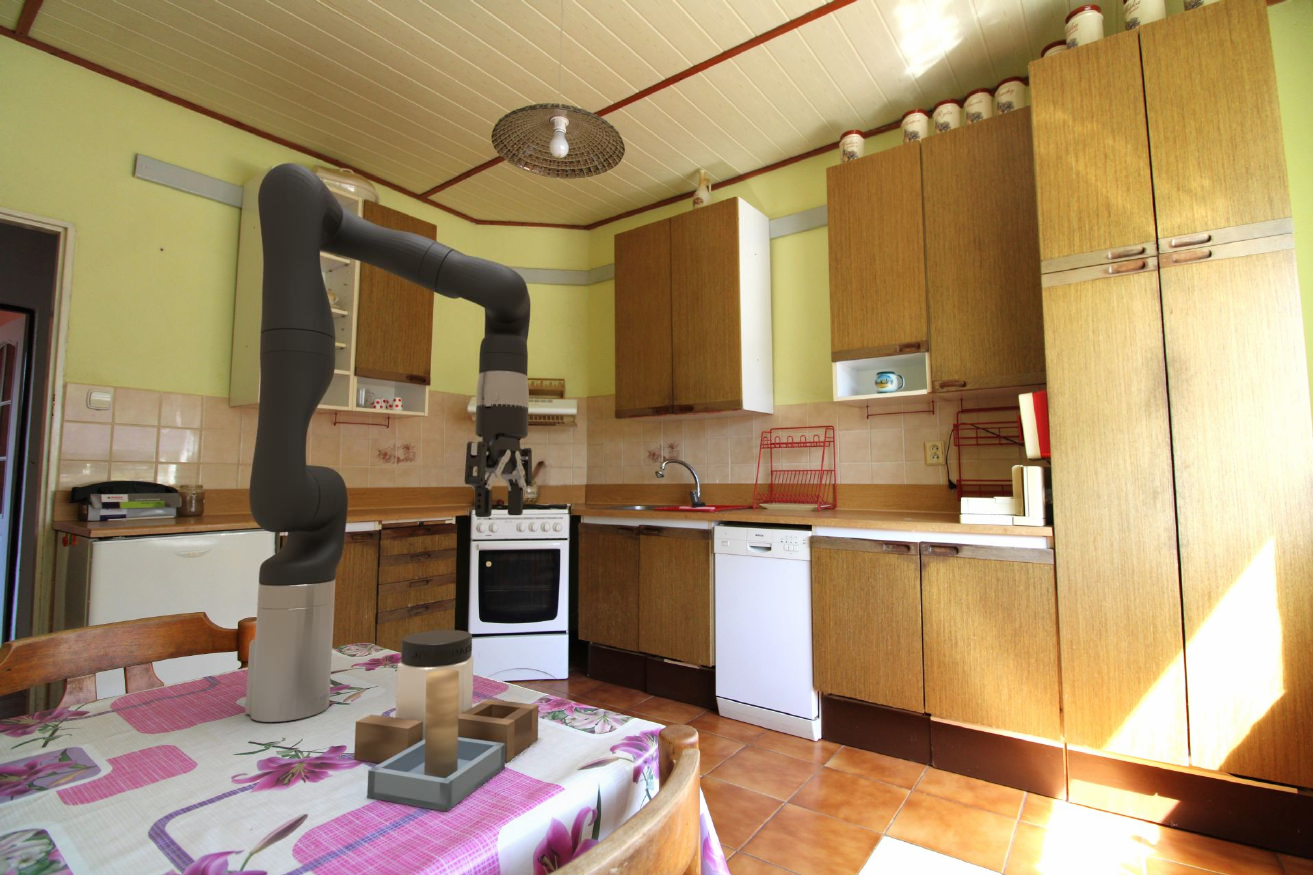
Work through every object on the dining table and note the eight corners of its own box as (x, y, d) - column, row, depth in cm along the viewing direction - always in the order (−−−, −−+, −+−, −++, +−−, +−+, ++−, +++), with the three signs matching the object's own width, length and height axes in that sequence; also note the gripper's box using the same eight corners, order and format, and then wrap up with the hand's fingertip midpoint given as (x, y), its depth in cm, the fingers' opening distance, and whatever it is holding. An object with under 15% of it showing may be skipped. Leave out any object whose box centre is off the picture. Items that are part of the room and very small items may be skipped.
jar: (402, 759, 70) (406, 647, 71) (387, 736, 76) (391, 634, 77) (482, 742, 75) (485, 638, 76) (461, 722, 81) (464, 626, 82)
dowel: (417, 779, 63) (419, 676, 64) (439, 766, 66) (441, 668, 67) (442, 783, 62) (444, 678, 63) (464, 770, 65) (465, 670, 66)
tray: (367, 797, 61) (368, 770, 61) (433, 756, 70) (434, 733, 70) (446, 811, 58) (447, 783, 58) (504, 767, 67) (505, 743, 68)
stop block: (354, 758, 70) (355, 721, 70) (370, 750, 72) (371, 714, 72) (406, 767, 68) (408, 728, 68) (421, 758, 70) (422, 721, 70)
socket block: (451, 754, 71) (453, 717, 71) (486, 732, 78) (487, 699, 78) (506, 762, 69) (507, 724, 69) (537, 739, 75) (538, 704, 76)
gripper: (506, 412, 101) (503, 514, 100) (451, 399, 88) (447, 517, 86) (548, 411, 99) (546, 515, 97) (498, 397, 85) (495, 517, 84)
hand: (499, 516), depth 92 cm, fingers open, 8 cm apart
